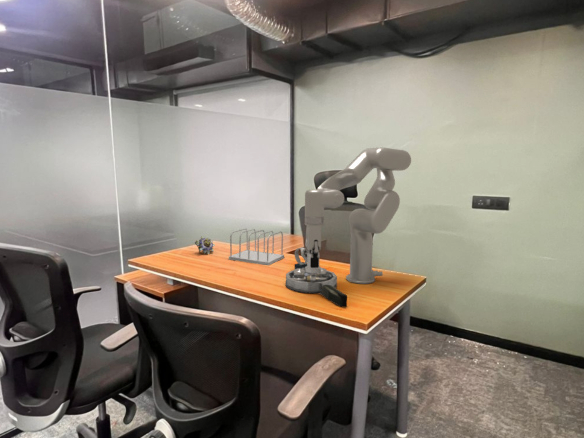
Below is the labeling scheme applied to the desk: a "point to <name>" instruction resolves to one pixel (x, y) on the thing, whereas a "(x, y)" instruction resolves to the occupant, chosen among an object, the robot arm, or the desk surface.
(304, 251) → the watch
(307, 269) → the grey hollow tube
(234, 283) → the desk surface
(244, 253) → the file sorter
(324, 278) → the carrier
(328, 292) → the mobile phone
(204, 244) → the passion flower
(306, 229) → the robot arm
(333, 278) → the ring gear
